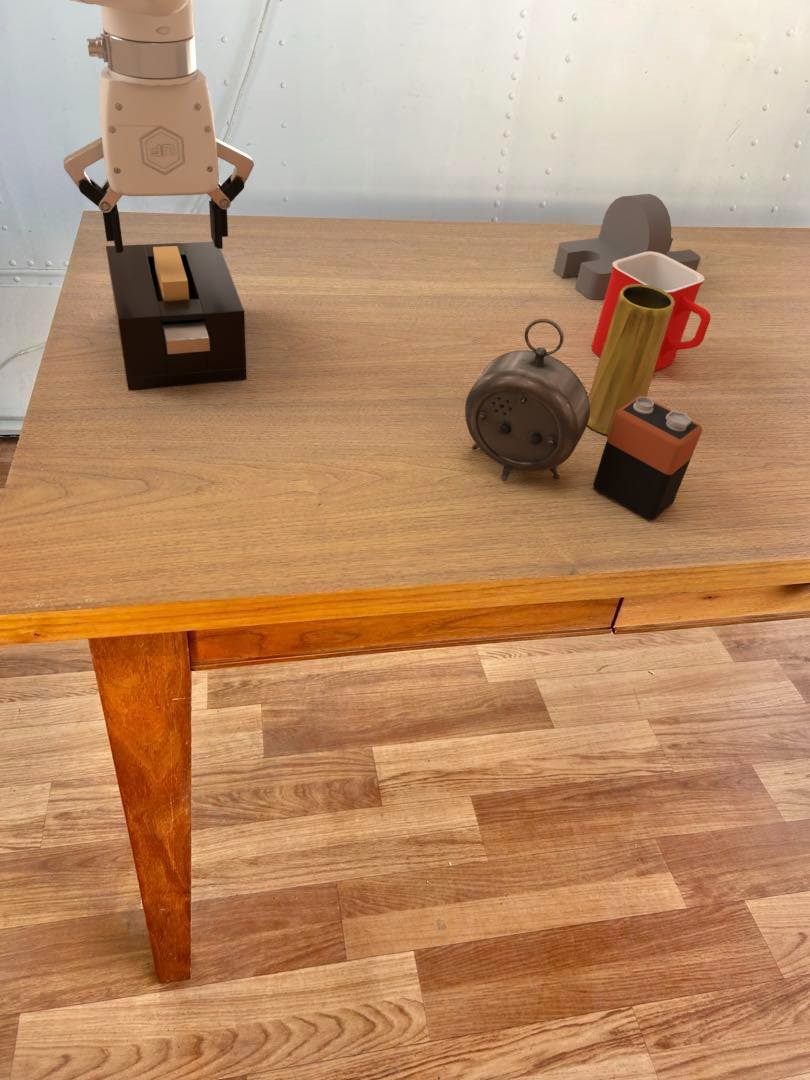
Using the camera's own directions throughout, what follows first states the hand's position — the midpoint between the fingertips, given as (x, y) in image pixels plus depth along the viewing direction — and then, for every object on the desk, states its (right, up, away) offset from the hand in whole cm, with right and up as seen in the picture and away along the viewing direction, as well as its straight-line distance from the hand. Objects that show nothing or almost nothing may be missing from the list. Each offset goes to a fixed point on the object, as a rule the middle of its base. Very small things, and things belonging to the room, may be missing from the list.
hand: (168, 245), depth 86 cm
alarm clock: (+34, -23, -3) cm, 41 cm away
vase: (+45, -17, +5) cm, 49 cm away
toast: (-1, -7, +7) cm, 10 cm away
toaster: (-1, -8, +8) cm, 11 cm away
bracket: (+54, +7, +32) cm, 63 cm away
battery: (+45, -26, -4) cm, 52 cm away
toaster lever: (+3, -11, -3) cm, 11 cm away
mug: (+52, -9, +15) cm, 55 cm away
